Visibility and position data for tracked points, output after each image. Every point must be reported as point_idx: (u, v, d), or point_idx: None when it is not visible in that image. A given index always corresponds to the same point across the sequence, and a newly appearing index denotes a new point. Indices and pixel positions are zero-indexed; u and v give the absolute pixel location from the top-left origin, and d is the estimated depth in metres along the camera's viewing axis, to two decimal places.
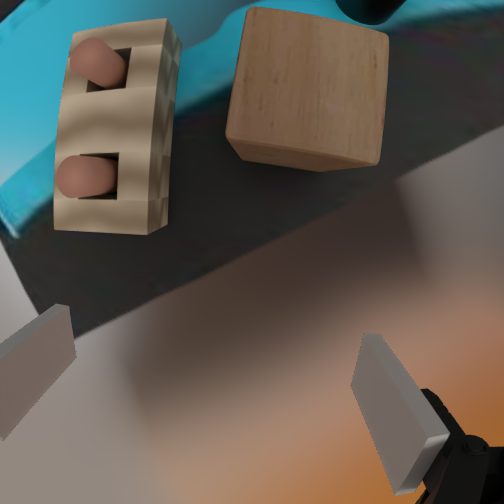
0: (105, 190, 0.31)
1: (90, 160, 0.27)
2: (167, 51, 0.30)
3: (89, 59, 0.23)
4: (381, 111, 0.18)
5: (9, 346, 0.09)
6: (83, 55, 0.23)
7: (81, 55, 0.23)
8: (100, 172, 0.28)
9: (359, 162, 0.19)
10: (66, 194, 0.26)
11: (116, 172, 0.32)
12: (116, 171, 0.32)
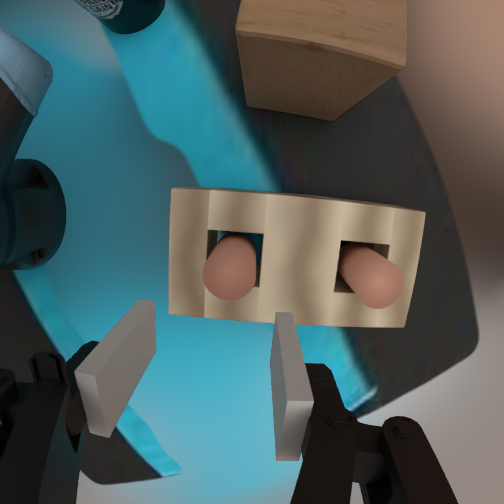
0: None
1: (363, 265, 0.25)
2: (212, 189, 0.30)
3: (236, 270, 0.24)
4: None
5: (114, 341, 0.10)
6: (228, 280, 0.24)
7: (227, 283, 0.24)
8: (373, 255, 0.26)
9: None
10: (397, 294, 0.24)
11: (359, 246, 0.30)
12: (357, 246, 0.30)
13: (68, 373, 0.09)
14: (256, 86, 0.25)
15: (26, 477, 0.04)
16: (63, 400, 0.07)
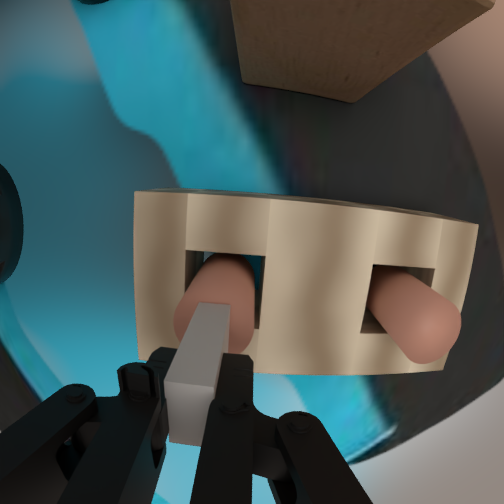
0: None
1: (409, 304, 0.16)
2: None
3: None
4: None
5: (193, 346, 0.11)
6: None
7: None
8: (420, 288, 0.17)
9: None
10: (451, 343, 0.16)
11: (395, 270, 0.21)
12: (393, 270, 0.21)
13: None
14: (255, 45, 0.16)
15: (99, 498, 0.04)
16: (152, 416, 0.07)
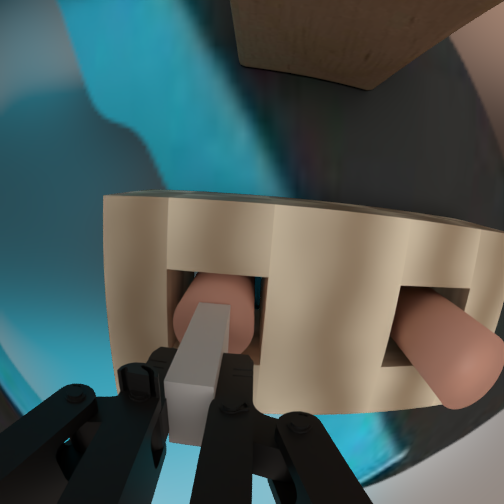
0: None
1: (448, 340, 0.12)
2: (178, 195, 0.17)
3: None
4: None
5: (193, 346, 0.11)
6: None
7: None
8: (460, 317, 0.13)
9: None
10: (492, 382, 0.11)
11: (424, 291, 0.17)
12: (422, 291, 0.17)
13: None
14: (254, 10, 0.12)
15: (99, 498, 0.04)
16: (152, 416, 0.07)
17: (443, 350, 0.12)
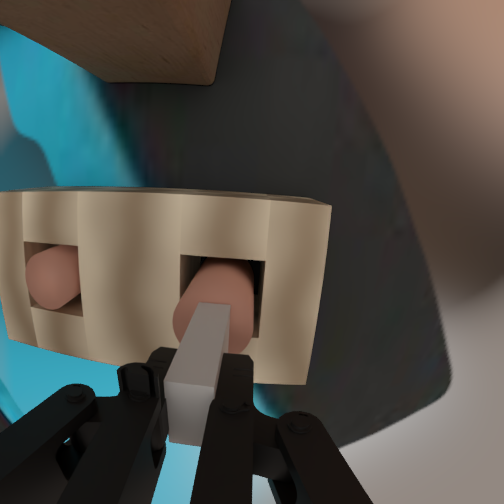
0: (247, 275, 0.20)
1: (186, 291, 0.16)
2: None
3: (51, 276, 0.19)
4: None
5: (193, 346, 0.11)
6: (46, 287, 0.19)
7: (46, 290, 0.19)
8: (211, 275, 0.17)
9: None
10: (245, 341, 0.16)
11: (219, 257, 0.21)
12: (217, 258, 0.21)
13: None
14: (65, 51, 0.15)
15: (99, 498, 0.04)
16: (152, 416, 0.07)
17: None
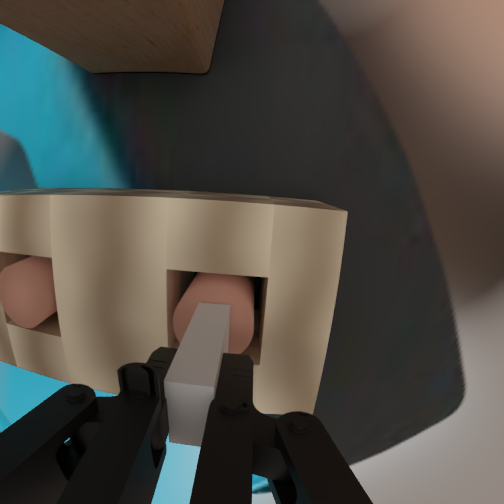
0: None
1: (187, 291, 0.16)
2: None
3: (24, 292, 0.15)
4: None
5: (193, 346, 0.11)
6: (19, 303, 0.16)
7: (20, 307, 0.16)
8: (212, 275, 0.17)
9: None
10: (245, 342, 0.16)
11: None
12: None
13: None
14: (39, 36, 0.12)
15: (99, 499, 0.04)
16: (152, 416, 0.07)
17: None
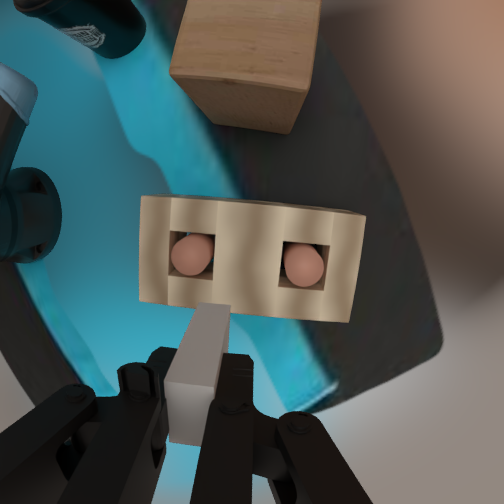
0: None
1: (291, 252, 0.34)
2: (176, 196, 0.35)
3: (194, 253, 0.34)
4: None
5: (193, 346, 0.11)
6: (189, 260, 0.34)
7: (188, 262, 0.34)
8: (301, 245, 0.35)
9: None
10: (319, 276, 0.34)
11: None
12: None
13: None
14: (209, 109, 0.30)
15: (99, 498, 0.04)
16: (152, 416, 0.07)
17: (288, 256, 0.34)
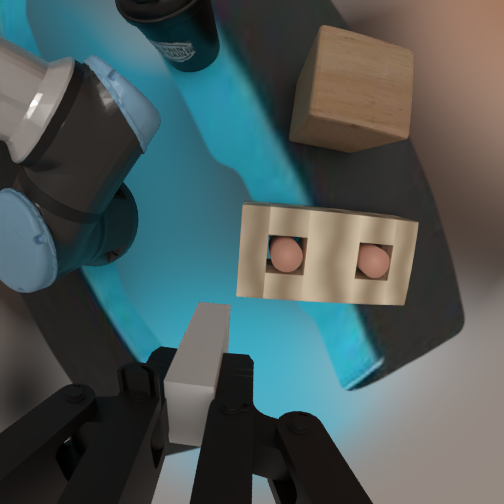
0: None
1: (364, 251, 0.42)
2: (269, 205, 0.42)
3: (291, 253, 0.41)
4: (382, 42, 0.25)
5: (193, 346, 0.11)
6: (286, 259, 0.41)
7: (286, 261, 0.41)
8: (370, 245, 0.42)
9: None
10: (386, 269, 0.41)
11: None
12: None
13: None
14: (305, 134, 0.37)
15: (99, 498, 0.04)
16: (152, 416, 0.07)
17: (362, 254, 0.41)
